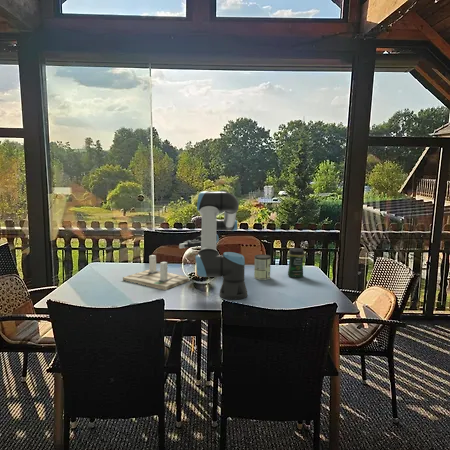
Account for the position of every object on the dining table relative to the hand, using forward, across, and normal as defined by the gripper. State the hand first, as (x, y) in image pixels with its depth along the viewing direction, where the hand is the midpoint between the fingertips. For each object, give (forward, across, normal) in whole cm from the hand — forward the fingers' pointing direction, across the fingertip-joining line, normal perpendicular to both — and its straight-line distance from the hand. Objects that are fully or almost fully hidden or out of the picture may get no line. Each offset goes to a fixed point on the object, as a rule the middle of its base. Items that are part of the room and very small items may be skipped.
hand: (180, 246), depth 248 cm
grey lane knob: (+5, +18, -18) cm, 26 cm away
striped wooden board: (+11, +9, -20) cm, 25 cm away
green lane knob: (+16, 0, -18) cm, 24 cm away
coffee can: (-31, -42, -21) cm, 56 cm away
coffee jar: (-46, -58, -21) cm, 77 cm away
